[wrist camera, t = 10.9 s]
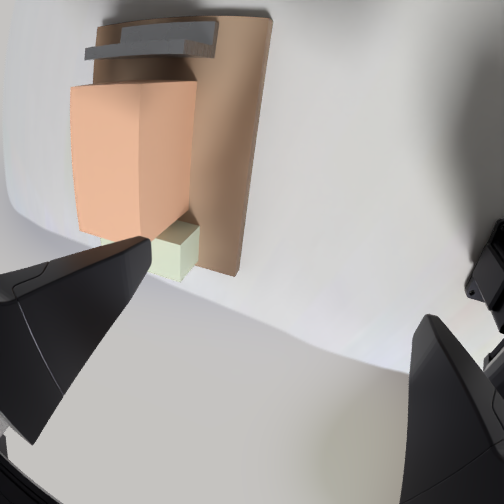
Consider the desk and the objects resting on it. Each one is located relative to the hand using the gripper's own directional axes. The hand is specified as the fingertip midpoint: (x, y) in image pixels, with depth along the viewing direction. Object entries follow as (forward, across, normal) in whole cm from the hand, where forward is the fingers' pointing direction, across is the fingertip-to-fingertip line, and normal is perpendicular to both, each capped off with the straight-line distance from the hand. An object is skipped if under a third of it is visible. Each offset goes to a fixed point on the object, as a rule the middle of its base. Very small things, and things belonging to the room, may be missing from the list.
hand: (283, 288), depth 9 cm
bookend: (+11, +11, -8) cm, 17 cm away
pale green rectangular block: (+12, +11, +6) cm, 18 cm away
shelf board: (+12, +11, 0) cm, 16 cm away
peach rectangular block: (+11, +11, 0) cm, 15 cm away
